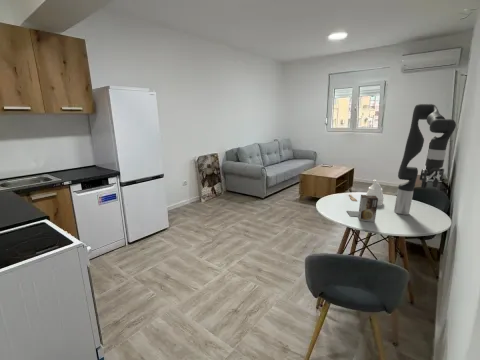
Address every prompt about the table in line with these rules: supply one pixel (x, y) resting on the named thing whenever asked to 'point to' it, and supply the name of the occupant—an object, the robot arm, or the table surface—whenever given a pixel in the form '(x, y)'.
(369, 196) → the coffee box
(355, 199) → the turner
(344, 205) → the table surface
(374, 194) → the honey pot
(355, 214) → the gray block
